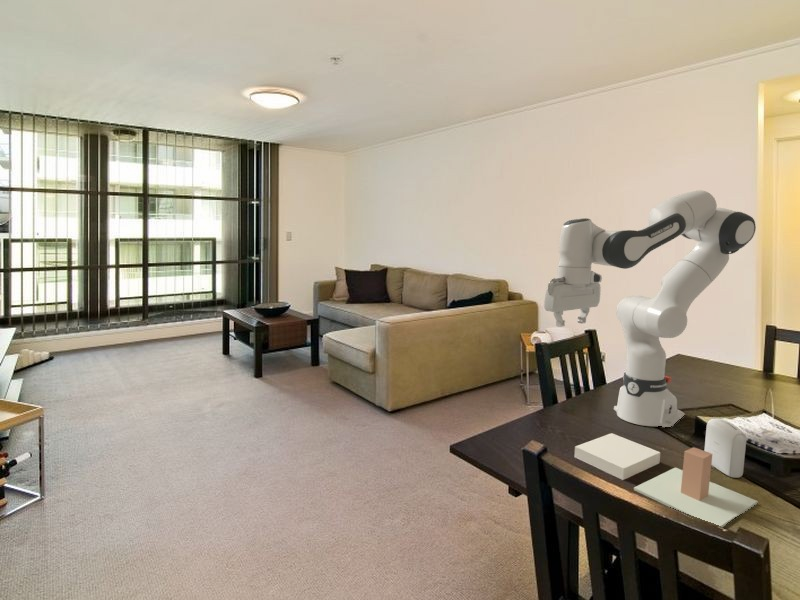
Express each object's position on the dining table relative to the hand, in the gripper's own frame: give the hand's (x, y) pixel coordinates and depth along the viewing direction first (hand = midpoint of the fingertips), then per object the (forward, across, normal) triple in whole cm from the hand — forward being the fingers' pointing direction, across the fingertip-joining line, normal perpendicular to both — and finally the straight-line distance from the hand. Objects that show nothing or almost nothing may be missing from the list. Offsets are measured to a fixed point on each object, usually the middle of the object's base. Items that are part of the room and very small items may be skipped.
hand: (571, 324), depth 137 cm
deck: (+33, -2, -18) cm, 38 cm away
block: (+32, -3, -38) cm, 50 cm away
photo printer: (+33, +17, -35) cm, 51 cm away
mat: (+33, -3, -38) cm, 50 cm away
